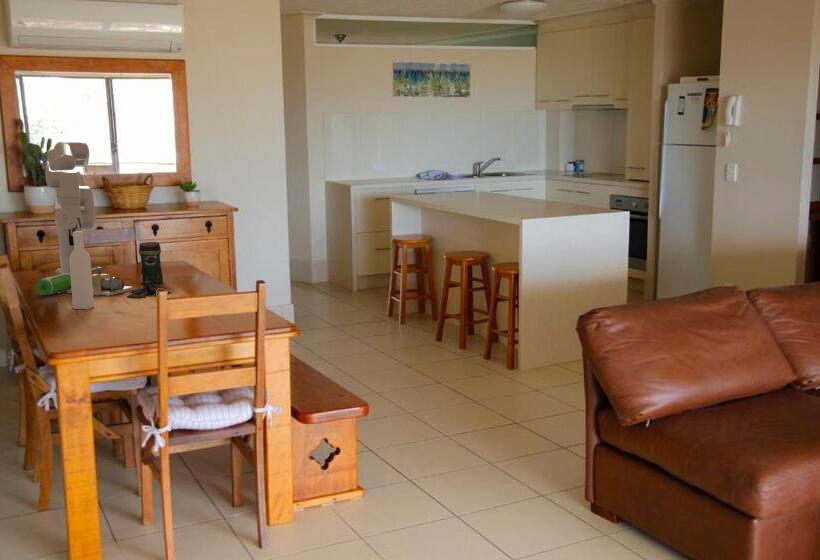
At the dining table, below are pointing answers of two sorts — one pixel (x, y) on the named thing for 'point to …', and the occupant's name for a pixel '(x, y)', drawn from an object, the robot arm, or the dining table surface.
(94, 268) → the lever
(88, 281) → the bottle
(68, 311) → the dining table surface
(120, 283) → the valve pipe
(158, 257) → the coffee jar
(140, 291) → the cloth
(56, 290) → the speaker
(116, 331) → the dining table surface
